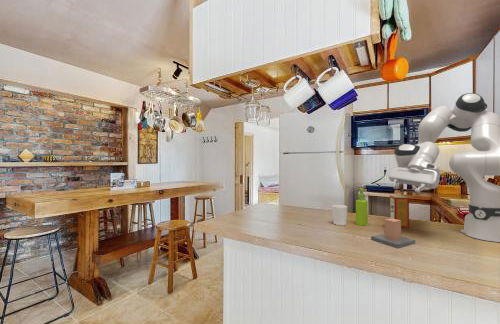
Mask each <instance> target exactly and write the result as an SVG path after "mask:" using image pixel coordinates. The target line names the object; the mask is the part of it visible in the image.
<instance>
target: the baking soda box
mask: <svg viewBox="0 0 500 324" xmlns="http://www.w3.org/2000/svg"><path fill="white" fill-rule="evenodd" d="M389 218H392V219H397V220H401V229H402V228H404V229H408V228H410V198H409V197H408V196H406V195H403V194H402V195H401V194H400V195H399V194H389Z"/></svg>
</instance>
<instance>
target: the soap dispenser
mask: <svg viewBox="0 0 500 324" xmlns="http://www.w3.org/2000/svg"><path fill="white" fill-rule="evenodd" d="M356 190H359V193H358V194H357V199H356V200H355V224H356V225H357V226H362V227H363V226H365V227H366V226H367V227H368V225H369V221H368V220H369V219H368V218H369V217H368V202H369V201H368V200H366V194H364V191H365V187H364V188H363V187H356Z"/></svg>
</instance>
